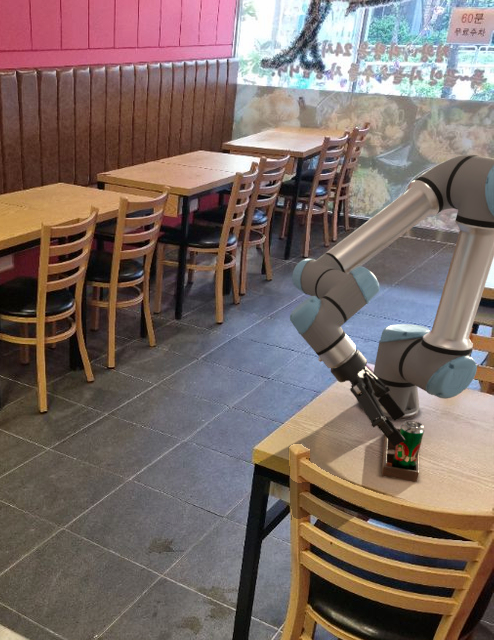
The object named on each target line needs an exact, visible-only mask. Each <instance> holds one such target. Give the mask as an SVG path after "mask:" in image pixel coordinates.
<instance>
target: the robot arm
mask: <svg viewBox="0 0 494 640" xmlns="http://www.w3.org/2000/svg"><path fill="white" fill-rule="evenodd" d="M451 209H455V210H456V211H457V214H456V217H455V221H454V222H455V223H456V225H457V227H458V229H459V233H458V235H457V239H456V243H455V247H454V249H453V253H452V257H451V261H450V264H449V268H448V271H447V275H446V278H445V282H444V285H443V289H442V292H441V296H440V298H439V304H438V306H437V309H436V313H435V317H434V320H433V323H432V327H431V329H429V328H428V327H427V326H425V325H418V324H408V323H407V324H406V323H399V324H392V325H388V326H386V327H385V328H384V329H383V330H382V331H381V335H380V339H379V340H378V347H377V352H376V357H375V362H374V368H373V372H372V371H371V370H370V369H369V368H368V367H367V364H368V360H367V358H366V357H365V356H364V355H363V353H362V352H361V351H360V350H359V349H357V345H356V344H355V343H354V342H353V340H352V339H351V337H350V336H349V335H347V333H346V332H345V330H344V329H343V328H342V326H343V325H345V323H347V322H348V321H349V320H350V319H352V317H354V315H356V314H357V313H358V312H359V311H360V310H361V309H363V308H364V307H365V306H366V305H368V304H369V302H370V301H371V300H372V299H373V298H375V296H376V295H377V294H379V292H380V283H379V280H378V279H377V277H376V275H375V274H374V273H373V272H372V271H371V270H369V268H366V267H364V265H365V264H366V263H367V262H369V261H370V260H372V259H373V258H374V257H375V256H377V255H379V253H381V252H382V251H384V250H385V249H386V248H388V247H389V246H391V244H392V243H394V242H395V241H397V240H398V239H399V238H401V237H402V236H403V235H405V234H406V233H407V232H409V230H411V229H413V228H414V227H415V226H417V225H418V224H419V223H420V222H422V221H423V220H424V219H426V218H434V217H436V216H437V215H438V214H439V213H441V212H442V211H446V210H451ZM493 260H494V157H487V156H482V155H478V154H461V155H460V154H459V155H457V156H454V157H452V158H448V159H446V160H444V161H442V162H440V163H438V164H436V165H434V166H433V167H431V168H430V169H428V170H426V171H425V172H423V173H422V174H420V175H419V176H418V177H416V178H414V180H412V181H411V182H410V183H408V186H407V190H406V191H405V192H404V193H402V194H401V195H400V196H398V197H397V198H395V200H393V201H392V202H390V203H389V204H388V205H387V206H385V207H384V208H382V210H380V211H378V212H377V213H376V214H375V215H373V216H372V217H371V218H369V219H368V220H367V221H366V222H364V223H363V224H361V226H358V228H357V229H355V230H354V231H353V232H351V233H350V234H349V235H346V237H345V238H343V239H342V240H340V241H339V242H338V243H336V245H334V246H333V247H331V248H329V250H327V251H326V252H325V253H323V254H322V255H321V256H319V257H318V258H317V259H315V258H304V259H302V260H301V261H299V262H298V263H297V264H296V265H295V267H294V269H293V271H292V275H291V276H292V277H291V278H292V284H293V285H294V287H295V288H296V289H297V290H299V291H300V292H302V293H303V294H305V295H306V296H307V295H308V296H309V297H307V298H305V299H304V300H303V301H302V302H300V303H299V304H298V305H297V306H296V307H294V308H293V310H291V313H290V315H289V321H290V322H291V323H292V326H293V327H294V328H295V329H296V331H297V333H298V334H299V335H300V336H301V337H302V338H303V340H304V341H305V342H306V343H307V344H308V345H309V347H310V348H311V349H312V350H313V352H314V353H315V354H316V355H317V356H318V362H323V364H324V365H325V366H326V368H327V369H330V373H331V374H332V375H333V376H334V378H335V380H336V381H337V382H338V383H345V382H349V383H350V384H351V385H350V387H351V388H349V391H350V392H351V394H353V397H354V398H355V399H356V400H357V402H358V403H359V406H360V408H361V409H362V411H363V412H364V413H365V415H366V417H367V419H368V420H369V422H370V423H371V424H370V426H371V427H372V428H376V427H377V428H378V429H379V430H380V431H381V433H382V434H383V436H384V435H385V436H386V437H387V439H388V440H389V441H390V442H391V444H392V445H393V446H396V445H398V444H400V443H401V442H403V441H405V438H404V437H403V436H402V435H401V433H400V432H399V431H398V430H397V428H398V427H396V425H395V424H394V423H393V422H392V421H394V422H396V421H402V420H409V419H413V418H415V417H417V415H418V414H419V410H420V399H419V398H420V397H419V391H418V388H419V389H421V390H423V391H425V392H426V393H427V394H429V395H431V396H434V397H437V398H439V399H443V400H446V399H447V400H448V399H451V398H455V397H456V396H458V395H460V394H461V393H462V392H463V391H465V390H467V389H468V387H469V386H470V385H471V383H472V382H473V380H474V379H475V377H476V374H477V371H478V365H477V362H476V361H475V359H474V358H473V357H472V356H471V354H472V351H473V347H474V343H473V342H472V341H471V339H470V334H471V331H472V328H473V325H474V321H475V318H476V316H477V312H478V310H479V309H478V308H479V306H480V302H481V300H482V296H483V292H484V290H485V286H486V283H487V280H488V277H489V274H490V271H491V267H492V264H493ZM391 420H392V421H391Z"/></svg>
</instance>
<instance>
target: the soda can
mask: <svg viewBox="0 0 494 640" xmlns="http://www.w3.org/2000/svg"><path fill="white" fill-rule="evenodd" d="M399 429H400V433H401V435H402V436H403V437H404V438H405V441H403V442H401V443H400V444H398V445H396V449H395V450H394V452H393V453H394V457H393V461H392V466H391V467H396V468H402V469H408V470H414V469H415V465H416V461H417V457H419V453H420V449H421V445H422V441H423V437H424V433H425V429H424V424H422V423H421V422H419V421H415V420H405V421H404V422H403V423H402V425H400V428H399Z"/></svg>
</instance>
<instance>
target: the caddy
mask: <svg viewBox="0 0 494 640" xmlns="http://www.w3.org/2000/svg"><path fill="white" fill-rule="evenodd" d="M396 428H397V430H398V431H399V432H400V428H398V427H396ZM382 443H383V444H382V458H381V459H382V460H381V477H385V478H386V477H387V478H391V479H398V480H403V481H410V482H414V483H415V482H418V477H419V474H420V464H419V463H420V461H419V458H420V457H419V456H418V457H417V461H416V465H415V469H414V470H408V469H402V468H396V467H391V466H392V461H393V457H394V453H395V452H390V450H391V451H395V449H396V446H393V445H392V444H391V442H390V441H389V440H388V439H387V437H386V436H385V435H384V434H383V441H382ZM388 450H389V451H388Z"/></svg>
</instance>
